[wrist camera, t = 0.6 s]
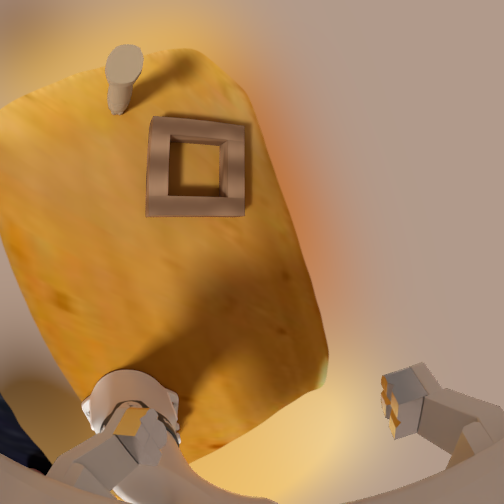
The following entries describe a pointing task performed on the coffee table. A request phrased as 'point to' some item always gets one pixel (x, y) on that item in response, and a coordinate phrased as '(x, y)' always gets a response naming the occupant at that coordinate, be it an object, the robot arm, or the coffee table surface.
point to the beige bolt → (122, 75)
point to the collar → (229, 174)
